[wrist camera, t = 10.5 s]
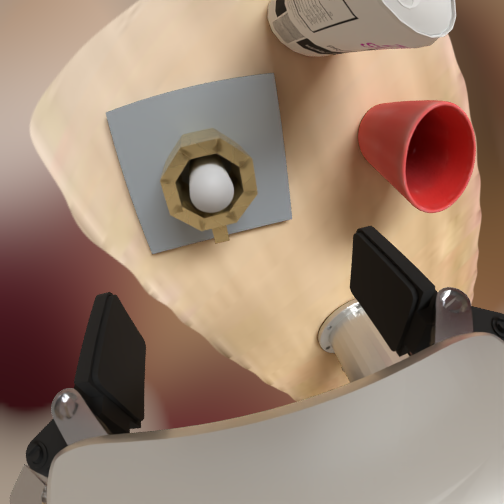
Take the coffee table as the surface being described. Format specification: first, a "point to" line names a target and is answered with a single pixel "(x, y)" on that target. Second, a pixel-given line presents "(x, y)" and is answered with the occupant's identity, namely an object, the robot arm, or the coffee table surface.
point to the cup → (180, 191)
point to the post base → (192, 115)
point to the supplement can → (359, 24)
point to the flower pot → (420, 150)
